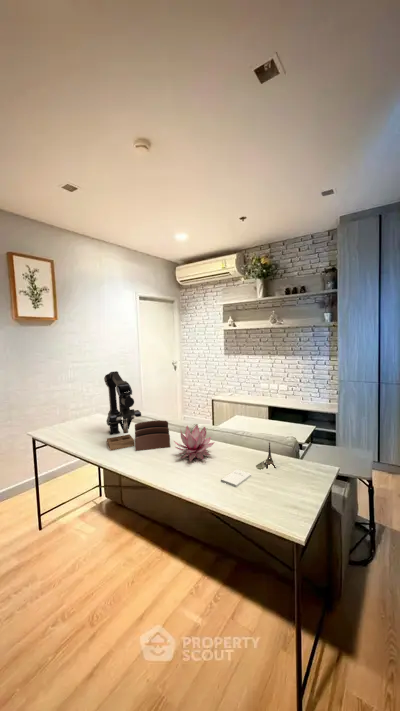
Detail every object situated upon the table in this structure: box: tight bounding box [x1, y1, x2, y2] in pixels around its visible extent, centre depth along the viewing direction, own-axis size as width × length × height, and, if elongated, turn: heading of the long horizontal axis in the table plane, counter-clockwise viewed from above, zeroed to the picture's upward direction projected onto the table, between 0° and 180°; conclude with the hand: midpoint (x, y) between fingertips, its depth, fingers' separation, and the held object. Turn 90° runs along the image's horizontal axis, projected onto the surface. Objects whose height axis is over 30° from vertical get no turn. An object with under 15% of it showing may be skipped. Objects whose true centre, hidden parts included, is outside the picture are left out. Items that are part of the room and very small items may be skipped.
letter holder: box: [134, 420, 171, 452], centre depth 174 cm, size 10×20×14 cm, turn 101°
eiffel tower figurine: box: [255, 440, 277, 471], centre depth 143 cm, size 15×10×13 cm
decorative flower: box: [173, 424, 215, 462], centre depth 157 cm, size 21×21×15 cm
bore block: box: [106, 433, 135, 452], centre depth 178 cm, size 12×14×4 cm
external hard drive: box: [220, 468, 252, 488], centre depth 132 cm, size 2×8×12 cm
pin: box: [122, 418, 129, 434], centre depth 179 cm, size 3×3×8 cm
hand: (125, 429), depth 179 cm, fingers closed on pin, 3 cm apart
